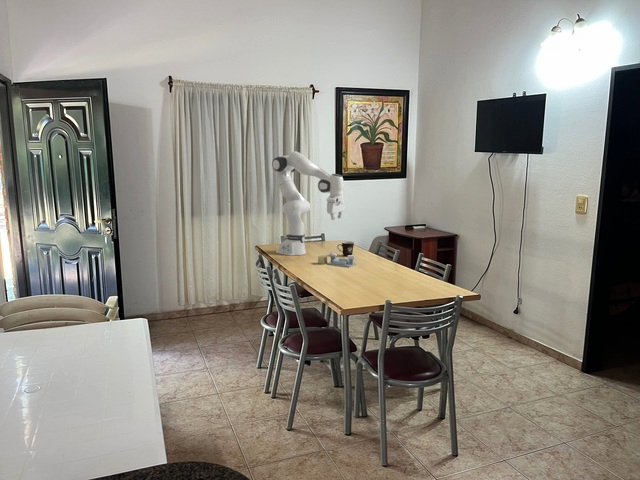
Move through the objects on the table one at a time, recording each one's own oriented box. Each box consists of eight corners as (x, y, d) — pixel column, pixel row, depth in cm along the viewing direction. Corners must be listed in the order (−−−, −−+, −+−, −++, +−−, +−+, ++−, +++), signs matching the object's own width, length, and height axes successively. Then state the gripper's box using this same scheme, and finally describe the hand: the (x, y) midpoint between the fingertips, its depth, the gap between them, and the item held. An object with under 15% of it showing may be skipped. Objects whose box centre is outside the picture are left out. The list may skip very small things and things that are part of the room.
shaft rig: (326, 264, 330) (326, 254, 329) (333, 261, 340) (334, 251, 338) (350, 267, 321) (351, 257, 320) (357, 264, 331) (358, 254, 330)
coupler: (317, 263, 331) (317, 256, 330) (321, 262, 335) (321, 255, 334) (323, 264, 329) (323, 257, 328) (327, 263, 333) (327, 256, 332)
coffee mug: (353, 254, 361) (354, 241, 360) (353, 257, 353) (353, 243, 351) (337, 254, 363) (338, 240, 361) (337, 256, 354) (337, 243, 352)
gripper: (339, 197, 343) (338, 217, 345) (325, 199, 325) (324, 220, 327) (347, 197, 340) (347, 217, 342) (333, 199, 322) (333, 221, 324)
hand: (336, 219), depth 334 cm, fingers open, 8 cm apart
